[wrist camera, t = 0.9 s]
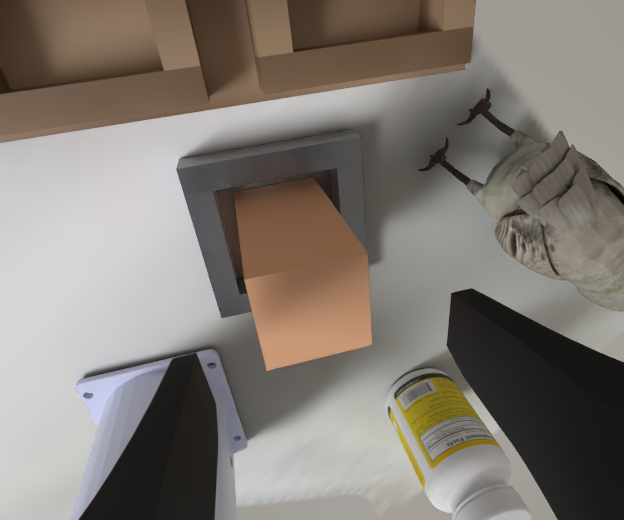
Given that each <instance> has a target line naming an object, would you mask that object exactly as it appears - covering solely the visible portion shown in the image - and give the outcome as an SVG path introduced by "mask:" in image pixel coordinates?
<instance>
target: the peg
mask: <svg viewBox="0 0 624 520" xmlns="http://www.w3.org/2000/svg"><path fill="white" fill-rule="evenodd" d="M233 193H234V201H235V209H236V217H237V225H238V233H239V241H240V249H241V257H242V266H243V274H244V281H245V285H246V289H247V293H248V297H249V301H250V305H251V309H252V313H253V317H254V321H255V325H256V329H257V333H258V337H259V341H260V345H261V349H262V353H263V357H264V361H265V365H266V369H267V371H268V370H272V369H277V368H281V367H285V366H289V365H293V364H297V363H301V362H305V361H309V360H313V359H317V358H321V357H325V356H329V355H333V354H337V353H342V352H346V351H350V350H354V349H358V348H362V347H366V346H370V345H372V333H371V311H370V290H369V269H368V253H367V252H366V250H365V249H364V247H363V246H362V244H361V243H360V242H359V240H358V239H357V237H356V236H355V235H354V233H353V232H352V230H351V229H350V228H349V226H348V225H347V223H346V222H345V220H344V219H343V218H342V216H341V215H340V213H339V212H338V211H337V209H336V208H335V206H334V205H333V204H332V202H331V201H330V199H329V198H328V196H327V195H326V194H325V192H324V191H323V189H322V188H321V187H320V185H319V184H318V182H317V181H316V180H315V178H314V177H312V178H306V179H301V180H296V181H290V182H285V183H279V184H274V185H269V186H263V187H258V188H253V189H247V190H242V191H236V192H233Z"/></svg>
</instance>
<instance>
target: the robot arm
mask: <svg viewBox="0 0 624 520" xmlns="http://www.w3.org/2000/svg"><path fill="white" fill-rule="evenodd" d="M447 347H448V349H449V351H450V352H451V354H452V356H453V358H454V360H455V362H456V364H457V366H458V367H459V369H460V371H461V373H462V374H463V376H464V378H465V379H466V381H467V382H468V384H469V385H470V386H471V388H472V389H473V391H474V392H475V393H476V395H477V396H478V398H479V399H480V400H481V402H482V403H483V405H484V406H485V407H486V409H487V410H488V411H489V413H490V414H491V416H492V417H493V418H494V420H495V421H496V422H497V424H498V425H499V427H500V428H501V429H502V431H503V432H504V433H505V435H506V436H507V438H508V439H509V440H510V442H511V443H512V444H513V446H514V447H515V449H516V450H517V452H518V453H519V455H520V456H521V458H522V459H523V461H524V462H525V464H526V466H527V467H528V469H529V471H530V472H531V474H532V476H533V477H534V479H535V481H536V482H537V484H538V486H539V487H540V489H541V491H542V493H543V494H544V496H545V498H546V500H547V501H548V503H549V505H550V507H551V508H552V510H553V512H554V514H555V516H556V517H557V519H558V520H624V362H621V361H619V360H616V359H614V358H611V357H609V356H607V355H604V354H602V353H600V352H597V351H595V350H593V349H591V348H589V347H586V346H584V345H582V344H580V343H578V342H575V341H573V340H571V339H569V338H567V337H565V336H563V335H561V334H559V333H557V332H555V331H552V330H551V329H549V328H547V327H545V326H543V325H541V324H539V323H537V322H535V321H533V320H531V319H529V318H527V317H525V316H523V315H521V314H520V313H518V312H516V311H514V310H512V309H510V308H508V307H506V306H505V305H503V304H501V303H499V302H497V301H495V300H493V299H491V298H490V297H488V296H486V295H484V294H482V293H480V292H478V291H476V290H474V289H472V288H471V289H467V290H462V291H458V292H454V293H451V304H450V316H449V327H448V338H447ZM209 363H215V364H209ZM75 391H76V393H77V394H78V396H79V398H80V399H81V401H82V402H83V404H84V405H85V407H86V409H87V410H88V412H89V413H90V415H91V416H92V418H93V420H94V421H95V423H96V424H97V426H98V428H97V431H96V435H95V438H94V441H93V445H92V448H91V451H90V455H89V458H88V461H87V465H86V468H85V471H84V475H83V478H82V481H81V485H80V488H79V492H78V495H77V498H76V502H75V505H74V508H73V512H72V515H71V518H70V520H237V519H236V496H235V474H234V453H236V452H240V451H243V450H245V449H246V448H247V439H246V436H245V433H244V430H243V427H242V424H241V421H240V418H239V415H238V412H237V409H236V406H235V403H234V400H233V397H232V394H231V391H230V388H229V385H228V382H227V379H226V376H225V373H224V370H223V367H222V364H221V361H220V357H219V354H218V352H217V351H215V350H213V349H207V350H203V351H199V352H195V353H190V354H186V355H182V356H178V357H173V358H169V359H165V360H160V361H156V362H152V363H148V364H143V365H139V366H135V367H131V368H126V369H122V370H118V371H114V372H109V373H105V374H101V375H97V376H92V377H88V378H84V379H81V380H79V381H78V382H77V384H76V386H75ZM87 392H90V393H87Z"/></svg>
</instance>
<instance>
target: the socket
mask: <svg viewBox="0 0 624 520" xmlns="http://www.w3.org/2000/svg"><path fill="white" fill-rule="evenodd" d="M324 170H329V174H330V184H331V195H332V204H333V205H334V206H335V208H336V209H337V211H338V212H339V213H340V215H341V216H342V218H343V219H344V220H345V222H346V223H347V225H348V226H349V228H350V229H351V230H352V232H353V233H354V235H355V236H356V237H357V239H358V240H359V242H360V243H361V244H362V246H363V247H364V249H365V250H366V231H365V210H364V190H363V169H362V149H361V136H359V135H358V134H356V133H355V132H353V131H352V130H344V131H338V132H332V133H326V134H320V135H315V136H309V137H303V138H297V139H291V140H286V141H280V142H274V143H268V144H262V145H257V146H251V147H245V148H239V149H233V150H227V151H222V152H216V153H210V154H204V155H198V156H193V157H187V158H181V159H179V162H178V165H177V173H178V176H179V179H180V183H181V186H182V189H183V193H184V196H185V199H186V202H187V206H188V209H189V212H190V216H191V219H192V222H193V225H194V229H195V232H196V235H197V239H198V242H199V245H200V249H201V252H202V255H203V258H204V262H205V265H206V268H207V272H208V275H209V278H210V282H211V285H212V288H213V291H214V295H215V298H216V301H217V305H218V308H219V311H220V314H221V318H225V317H229V316H234V315H238V314H243V313H247V312H251V311H252V309H251V305H250V301H249V297H248V293H247V289H246V285H245V281H244V277H241V278H238V276H237V272H236V268H235V264H234V260H233V256H232V253H231V249H230V245H229V241H228V237H227V233H226V229H225V225H224V221H223V218H222V214H221V210H220V206H219V202H218V198H217V194H216V190H221V189H226V188H232V187H237V186H242V185H248V184H253V183H259V182H264V181H270V180H275V179H280V178H286V177H291V176H297V175H302V174H308V173H313V172H318V171H324ZM366 252H367V251H366Z"/></svg>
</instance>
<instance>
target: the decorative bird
mask: <svg viewBox="0 0 624 520" xmlns="http://www.w3.org/2000/svg"><path fill="white" fill-rule="evenodd" d="M489 99H490V91H489V90H488V88H487V94H486V98H485V99H482V100H480V101H479V102H478V103H477V104H476V106H475V107H474V108H473V109H470V110H469V111H470V112H471V113H470V116H469V118H468V119H467V120H466V121H465V122H462V123H460V124H456V125H464V124H467V123H469V122H471V121H472V120H473V119H474V118H475V117H476V116H477V115H478V114H480V113H481V114H482V115H483V116H484V117H485V118H487V119H488V120H489V121H490V122H491V123H492V124H493V125H495V126H496V127H497V128H498V129H499V130H501V131H502V132H504V133H505V134H507V135H508V136H510V137H511V139H512V141H513V143H514V144H515V146H516V148H517V150H516V151H515V152H513V153H511V154H510V155H508V156H507V157H505V158H504V159H502V160H501V161H500V162H499V163H498V164H497V165H496V166H495V167H494V168H493V170H492V171H491V173H490V174H489V176H488V178H487V181H486V184H485V185H483V184H481V183H479V182H477V181H475V180H471V179H470V178H468V177H467V176H465V175H464V174H462V173H461V172H459V171H458V170H456V169H455V168H454V167H453V166H452V165H451V164H449V163H448V162H447V161H446V156H444V154H445V152H446V150H447V149H448V139H447V137H446V143H445V147H444V148H442V149H439V150H438V151H437V152H436V153H435V154H434V155H431V156H430V157H431V159H430V161H429V165H428V166H427V167H426V168H424V169H420V170H419V171H426V170H429V169H431V168H432V167H433V166H434V165H435V164H437V163H440V164H441V165H442V166H443V167H444V168H446V169H447V170H448V171H449V172H451V173H452V174H453V175H454V176H455V177H456V178H457V179H459V180H460V181H461V182H463V183H464V184H465V185H466V186H467V189H468V190H469V191H470V192H471V193H472V194H473V195H474V196H475V197H476V198H477V199H478V201H479V202H480V203H481V204H482V205H483V207H484V208H485V209H486V210H487V212H488V213H489V214H490V215H491V216H492V217H493V218H494V220H495V221H496V223H497V227H496V229H495V235H496V238H497V240H498V241H499V243H500V244H501V246H502V247H503V249H504V250H505V252H507V253H508V254H509V255H510V256H511V257H513V258H514V259H516V260H517V261H519V262H520V263H521V264H523V265H524V266H526V267H527V268H529V269H531V270H533V271H535V272H537V273H540V274H542V275H545V276H547V277H550V278H554V279H558V280H567V281H569V282H571V283H572V284H573V285H575V286H576V287H577V289H578V290H579V292H580V293H581V294H582V295H583V296H584V297H585V298H587V299H588V300H590V301H592V302H594V303H596V304H597V305H600V306H602V307H605V308H607V309H610V310H614V311H624V188H623V187H622V186H621V185H620V184H619V183H618V182H617V181H615V180H614V179H613V178H612V177H611V176H609V174H607V172H606V171H605V170H604V169H603V168H601V167H600V166H599V165H598V164H597V163H596V162H595V161H593V160H592V159H590V158H588V157H586V156H585V155H583V154H581V153H580V152H578V151H576V149H575V147H574V145H572V146H571V147H570V148H569V145H568V143H567V141H566V138H565V136H564V134H563V132H562V131H560V132H559V133H558V134H557V136H556V137H555V139H554V140H553V142H552V144H549V143H539V142H537V141H535V140H534V139H532V138H530V137H529V136H527V135H526V134H524V133H523V132H521V131H516V130H514V129H512V128H510V127H509V126H507V125H505V124H504V123H502V122H500V121H499V120H498V119H497V118H495V117H494V116H493V115H492V114H491V113H490V112H489V111H488V110H489V109H490V107H491V103H490V102H488V101H489Z"/></svg>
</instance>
